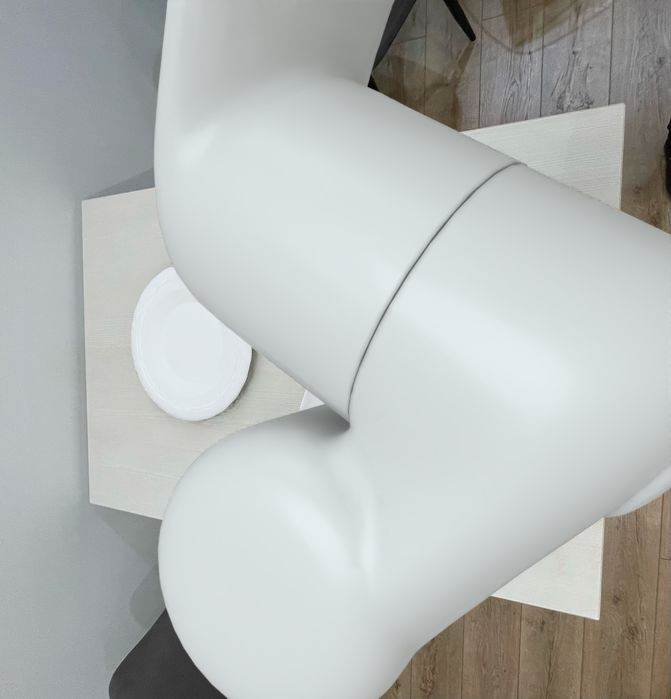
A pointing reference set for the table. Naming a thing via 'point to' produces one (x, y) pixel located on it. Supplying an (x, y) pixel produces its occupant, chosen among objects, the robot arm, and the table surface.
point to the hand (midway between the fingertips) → (493, 407)
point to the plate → (185, 351)
